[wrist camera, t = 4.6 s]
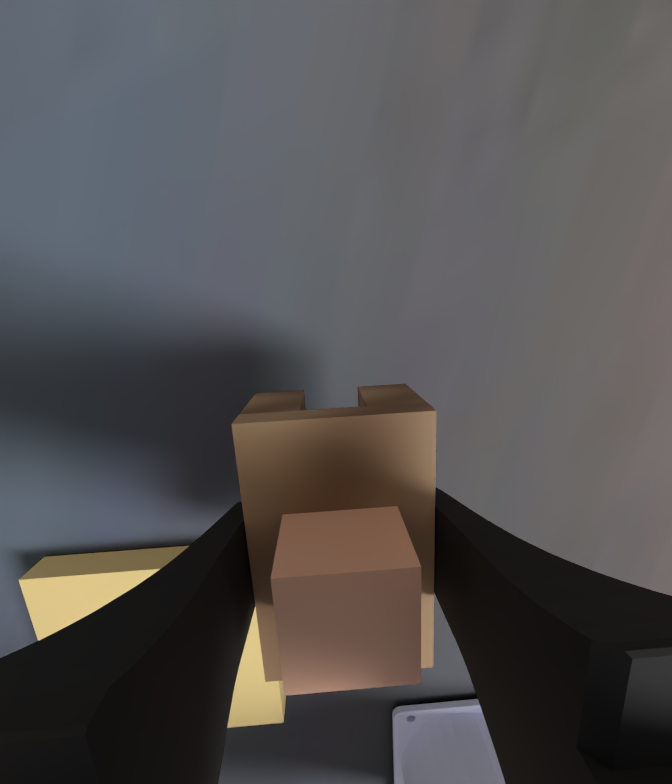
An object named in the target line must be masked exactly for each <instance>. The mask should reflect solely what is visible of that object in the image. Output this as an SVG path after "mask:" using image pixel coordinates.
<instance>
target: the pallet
mask: <svg viewBox="0 0 672 784" xmlns="http://www.w3.org/2000/svg"><path fill="white" fill-rule="evenodd" d="M358 404H359V407H346V408H331V409H316V410H305V397H304V390H300V391H285V392H269V393H256V394H255V395H254V396H253V397H252V399H251V400H250V401H249V402H248V404H247V405H246V406H245V408H244V409H243V410H242V411H241V413H240V414H239V415H238V416H237V418H236V419H235V420H234V421H233V423H232V424H231V425H232V433H233V441H234V448H235V456H236V463H237V471H238V478H239V486H240V494H241V501H242V509H243V516H244V524H245V531H246V539H247V547H248V554H249V562H250V569H251V577H252V584H253V592H254V600H255V607H256V615H257V622H258V630H259V637H260V645H261V653H262V660H263V668H264V675H265V682H271V681H282V673H281V664H280V656H279V647H278V639H277V630H276V622H275V613H274V605H273V596H272V587H271V573H272V568H273V563H274V557H275V552H276V547H277V541H278V536H279V531H280V525H281V520H282V515H284V514H297V513H311V512H324V511H338V510H351V509H364V508H378V507H391V506H398V509H399V511H400V514H401V516H402V519H403V521H404V524H405V527H406V529H407V532H408V534H409V537H410V539H411V542H412V544H413V547H414V549H415V552H416V554H417V557H418V560H419V562H420V565H421V668H429V667H433V640H434V560H435V481H436V410H435V409H434V408H433V407H432V406H430V405H429V404H428V403H427V402H426V401H425V400H423V399H422V398H421V397H420V396H419V395H418V394H416V393H415V392H414V391H413V390H412V389H411V388H409V387H408V386H407V385H406V384H395V385H379V386H363V387H358Z"/></svg>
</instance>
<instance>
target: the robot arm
mask: <svg viewBox="0 0 672 784" xmlns="http://www.w3.org/2000/svg"><path fill="white" fill-rule="evenodd" d="M434 593H435V595H436V597H437V599H438V602H439V604H440V606H441V608H442V611H443V613H444V615H445V617H446V619H447V622H448V624H449V626H450V628H451V631H452V633H453V635H454V637H455V639H456V642H457V644H458V646H459V649H460V651H461V654H462V656H463V658H464V661H465V663H466V666H467V669H468V672H469V675H470V678H471V680H472V683H473V686H474V689H475V692H476V695H477V698H478V699H470V700H459V701H448V702H438V703H427V704H416V705H405V706H398V707H396V708H395V709H394V710H393V713H392V724H393V768H394V784H672V596H670V595H666V594H662V593H659V592H655V591H652V590H649V589H646V588H643V587H639V586H636V585H633V584H630V583H627V582H624V581H620V580H617V579H615V578H612V577H609V576H606V575H603V574H600V573H597V572H595V571H592V570H590V569H587V568H585V567H582V566H579V565H577V564H574V563H572V562H569V561H567V560H564V559H562V558H560V557H557V556H555V555H553V554H551V553H548V552H546V551H544V550H542V549H540V548H538V547H536V546H534V545H532V544H529V543H527V542H525V541H523V540H521V539H520V538H518V537H516V536H514V535H512V534H510V533H509V532H507V531H505V530H503V529H501V528H500V527H498V526H496V525H494V524H493V523H491V522H489V521H488V520H486V519H485V518H483V517H481V516H480V515H478V514H477V513H475V512H473V511H472V510H470V509H469V508H467V507H466V506H464V505H463V504H461V503H460V502H458V501H457V500H455V499H454V498H452V497H451V496H449V495H448V494H446V493H444V492H443V491H441V490H440V489H438V488H435V560H434ZM254 609H255V600H254V592H253V584H252V577H251V569H250V562H249V554H248V547H247V539H246V531H245V524H244V516H243V509H242V502H238V503H237V504H235V505H234V506H233V507H232V508H231V509H230V510H229V511H228V512H227V513H226V514H225V515H223V516H222V517H221V518H220V519H219V520H218V521H217V522H216V523H215V524H214V525H213V526H212V527H210V528H209V529H208V530H207V531H206V532H205V533H204V534H203V535H202V536H201V537H199V538H198V539H197V540H196V541H195V542H194V543H192V544H191V545H190V546H189V547H187V548H186V549H185V550H184V551H183V552H181V553H180V554H179V555H178V556H177V557H175V558H174V559H173V560H172V561H170V562H169V563H168V564H166V565H165V566H164V567H162V568H161V569H160V570H158V571H157V572H156V573H154V574H153V575H151V576H150V577H148V578H147V579H146V580H144V581H143V582H141V583H140V584H138V585H137V586H135V587H134V588H132V589H131V590H129V591H127V592H126V593H124V594H122V595H121V596H119V597H117V598H116V599H114V600H112V601H111V602H109V603H108V604H106V605H104V606H103V607H101V608H99V609H98V610H96V611H94V612H92V613H91V614H89V615H87V616H85V617H83V618H82V619H80V620H78V621H76V622H74V623H72V624H71V625H69V626H67V627H65V628H63V629H61V630H59V631H57V632H55V633H53V634H51V635H49V636H47V637H45V638H43V639H41V640H39V641H37V642H35V643H33V644H31V645H29V646H27V647H24V648H22V649H20V650H18V651H16V652H13V653H11V654H9V655H7V656H4V657H2V658H0V784H218V780H219V774H220V768H221V762H222V756H223V750H224V744H225V738H226V732H227V726H228V720H229V715H230V709H231V703H232V698H233V692H234V687H235V682H236V678H237V673H238V669H239V665H240V661H241V657H242V653H243V650H244V646H245V642H246V639H247V635H248V631H249V627H250V624H251V620H252V616H253V613H254Z"/></svg>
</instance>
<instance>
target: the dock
mask: <svg viewBox="0 0 672 784" xmlns="http://www.w3.org/2000/svg"><path fill="white" fill-rule="evenodd" d="M187 547H189V546H177V547H164V548H151V549H138V550H125V551H112V552H99V553H86V554H73V555H60V556H47V557H44V558H42V559H41V560H40V561H39V562H38V563H37V564H36V565H35V566H34V567H32V568H31V569H30V570H29V571H28V572H27V573H26V574H25V575H23V576H22V577H21V578H20V579H19V583H20V586H21V589H22V592H23V595H24V598H25V602H26V605H27V608H28V611H29V614H30V617H31V620H32V623H33V626H34V629H35V633H36V636H37V639H38V641H39V640H41V639H43V638H45V637H47V636H49V635H51V634H53V633H55V632H57V631H59V630H61V629H63V628H65V627H67V626H69V625H71V624H72V623H74V622H76V621H78V620H80V619H82V618H83V617H85V616H87V615H89V614H91V613H92V612H94V611H96V610H98V609H99V608H101V607H103V606H104V605H106V604H108V603H109V602H111V601H112V600H114V599H116V598H117V597H119V596H121V595H122V594H124V593H126V592H127V591H129V590H131V589H132V588H134V587H135V586H137V585H138V584H140V583H141V582H143V581H144V580H146V579H147V578H148V577H150V576H151V575H153V574H154V573H156V572H157V571H158V570H160V569H161V568H162V567H164V566H165V565H166V564H168V563H169V562H170V561H172V560H173V559H174V558H175V557H177V556H178V555H179V554H180V553H181V552H183V551H184V550H185V549H186V548H187ZM285 702H286V696H284V690H283V681H271V682H265V675H264V668H263V660H262V653H261V645H260V637H259V630H258V622H257V615H256V607H255V609H254V613H253V616H252V620H251V624H250V627H249V631H248V635H247V639H246V642H245V646H244V650H243V653H242V657H241V661H240V665H239V669H238V673H237V678H236V682H235V687H234V692H233V698H232V703H231V709H230V715H229V720H228V726H227V728H231V727H242V726H253V725H263V724H274V723H284V713H285Z"/></svg>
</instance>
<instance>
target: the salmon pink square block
mask: <svg viewBox="0 0 672 784" xmlns="http://www.w3.org/2000/svg"><path fill="white" fill-rule="evenodd" d="M271 587H272V596H273V605H274V613H275V622H276V630H277V639H278V647H279V656H280V664H281V673H282V681H283V690H284V696H287V695H299V694H310V693H321V692H332V691H343V690H354V689H365V688H376V687H388V686H399V685H410V684H421V565H420V562H419V560H418V557H417V554H416V552H415V549H414V547H413V544H412V542H411V539H410V537H409V534H408V532H407V529H406V527H405V524H404V521H403V519H402V516H401V514H400V511H399V509H398V506H391V507H378V508H364V509H351V510H338V511H324V512H311V513H297V514H284V515H282V520H281V525H280V531H279V536H278V541H277V547H276V552H275V557H274V563H273V568H272V573H271Z"/></svg>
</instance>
